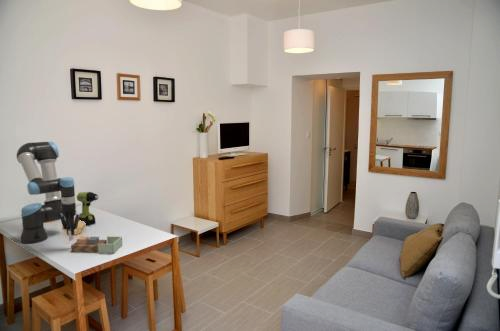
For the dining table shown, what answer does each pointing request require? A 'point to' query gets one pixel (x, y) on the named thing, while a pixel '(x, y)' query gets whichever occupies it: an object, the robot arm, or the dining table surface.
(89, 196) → the cordless drill
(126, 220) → the dining table surface
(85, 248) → the walnut board
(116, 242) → the tray
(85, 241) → the peach square block
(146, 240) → the dining table surface
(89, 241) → the grey square block
